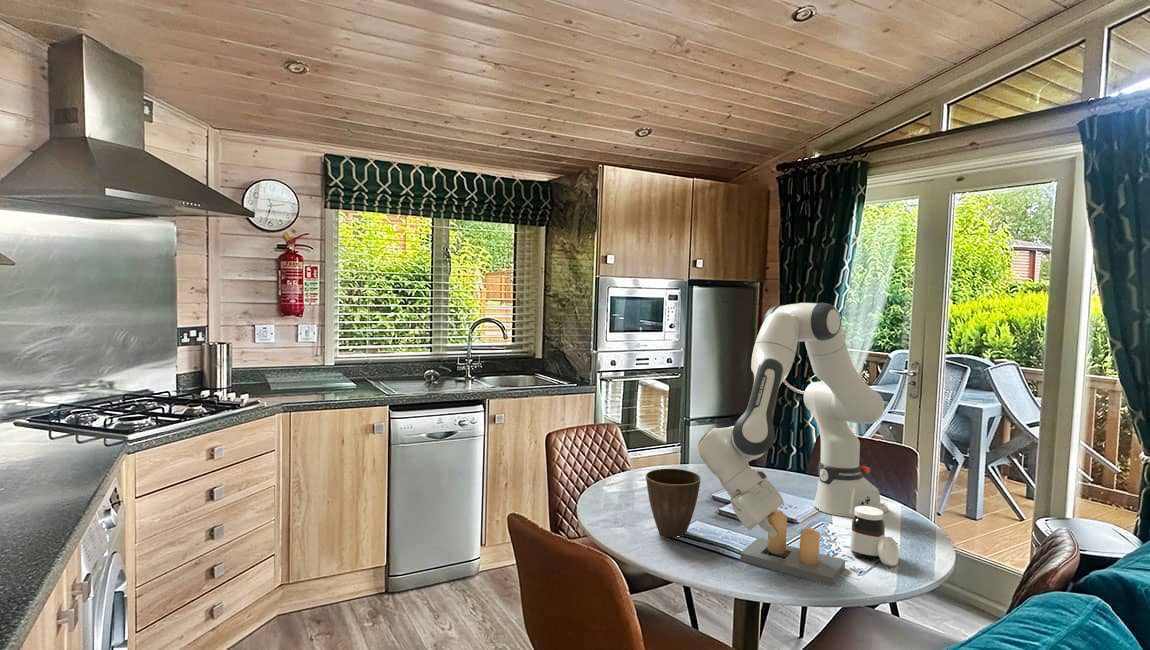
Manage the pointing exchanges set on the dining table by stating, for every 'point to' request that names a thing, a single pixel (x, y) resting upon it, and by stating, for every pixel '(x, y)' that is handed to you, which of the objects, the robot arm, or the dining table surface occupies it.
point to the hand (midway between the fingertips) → (779, 531)
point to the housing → (797, 559)
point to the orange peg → (779, 541)
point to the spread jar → (872, 537)
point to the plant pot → (672, 499)
